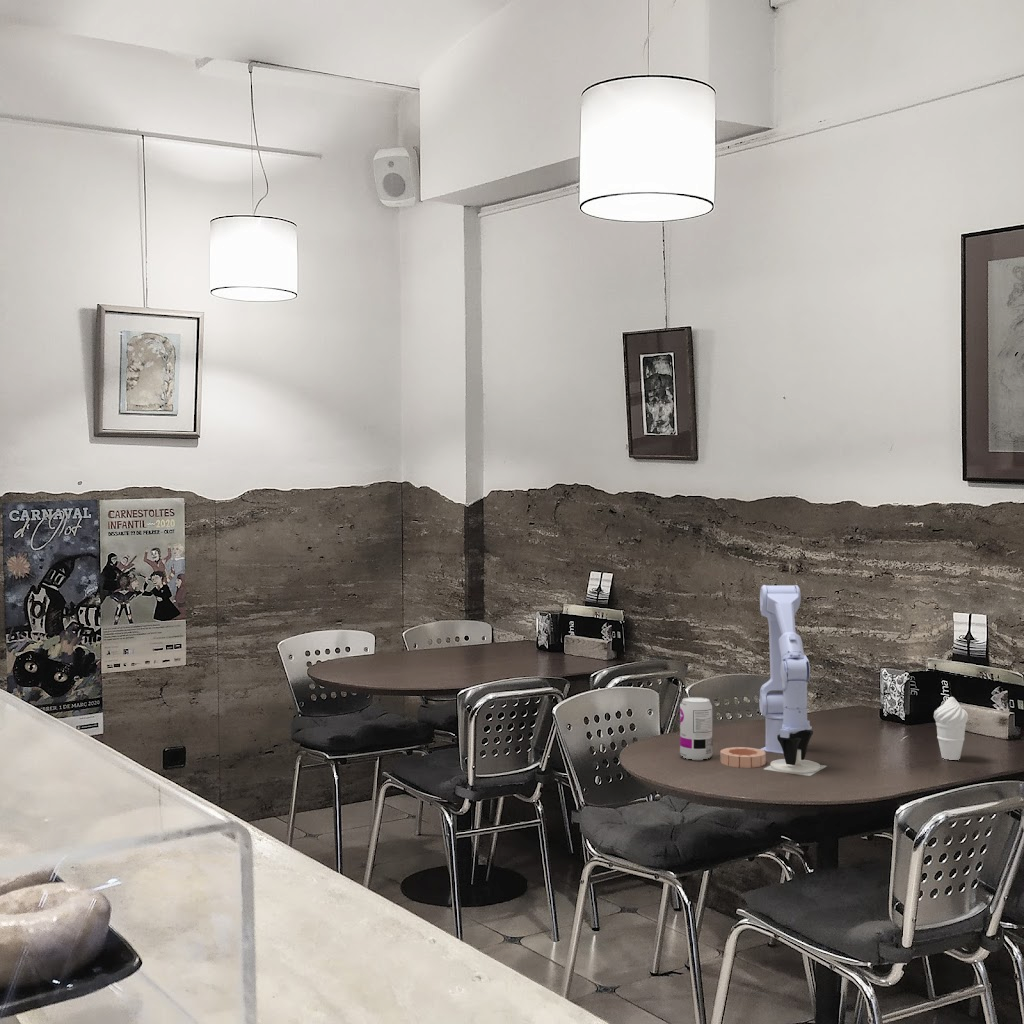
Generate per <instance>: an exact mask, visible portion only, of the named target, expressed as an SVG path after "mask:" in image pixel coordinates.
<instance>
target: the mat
mask: <svg viewBox="0 0 1024 1024" xmlns="http://www.w3.org/2000/svg"><path fill="white" fill-rule="evenodd" d="M827 767H828V765H823V764H820V770H819V771H817V772H813V773H791V774H793V775H799V776H808V777H811V776H813V775H814V774H816V773H818V772H820V771H821V770H823V769H825V768H827ZM763 770H765V771H772V772H778V773H782V772H781V771H777V770H774V769H772V768H771V766H770V765H768V766H766V767H764V768H763ZM784 773H786V774H788V773H787V772H784Z"/></svg>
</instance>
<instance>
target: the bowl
mask: <svg viewBox="0 0 1024 1024" xmlns="http://www.w3.org/2000/svg"><path fill="white" fill-rule="evenodd" d="M760 749H761V748H756V747H755V748H754V747H745V746H743V747H742V746H735V747H734V746H733V747H726V748H725V747H724V748H722V749H720V754H719V755H720V756H719V758H720V763H721V764H722V765H724V766H727V767H732V768H740V769H741V768H743V769H744V768H746V769H747V768H748V769H749V768H750V769H752V768H761V767H763V766H765V765H766V764H767V753H766V751H763V750H760Z"/></svg>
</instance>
